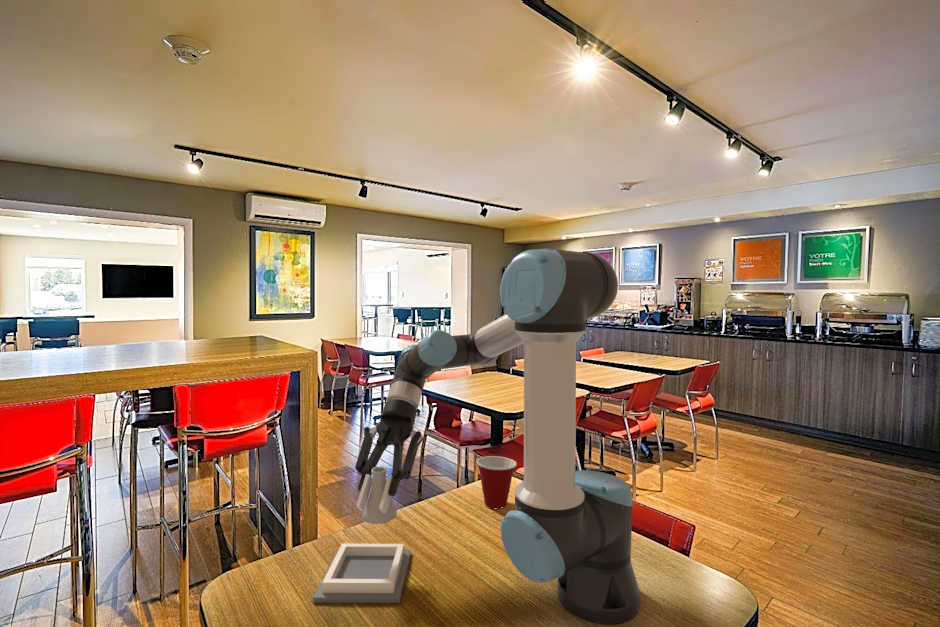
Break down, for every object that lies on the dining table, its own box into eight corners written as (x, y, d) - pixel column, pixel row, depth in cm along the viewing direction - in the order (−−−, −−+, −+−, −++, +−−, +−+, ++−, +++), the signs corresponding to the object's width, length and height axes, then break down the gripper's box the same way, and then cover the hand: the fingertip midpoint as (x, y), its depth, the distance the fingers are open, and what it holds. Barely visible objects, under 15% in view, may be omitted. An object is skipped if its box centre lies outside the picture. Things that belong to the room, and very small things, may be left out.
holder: (410, 553, 103) (410, 540, 103) (399, 603, 87) (399, 587, 87) (337, 553, 103) (337, 540, 103) (313, 602, 87) (312, 587, 87)
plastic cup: (523, 501, 128) (523, 458, 127) (504, 517, 119) (504, 471, 118) (488, 491, 134) (489, 450, 133) (468, 506, 125) (468, 462, 124)
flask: (388, 527, 92) (388, 478, 92) (355, 523, 94) (354, 474, 93) (402, 510, 99) (402, 464, 99) (371, 506, 101) (370, 460, 100)
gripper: (440, 416, 108) (416, 521, 94) (371, 411, 112) (338, 511, 97) (433, 400, 103) (407, 508, 88) (361, 395, 107) (324, 498, 92)
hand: (371, 509), depth 93 cm, fingers closed on flask, 4 cm apart
